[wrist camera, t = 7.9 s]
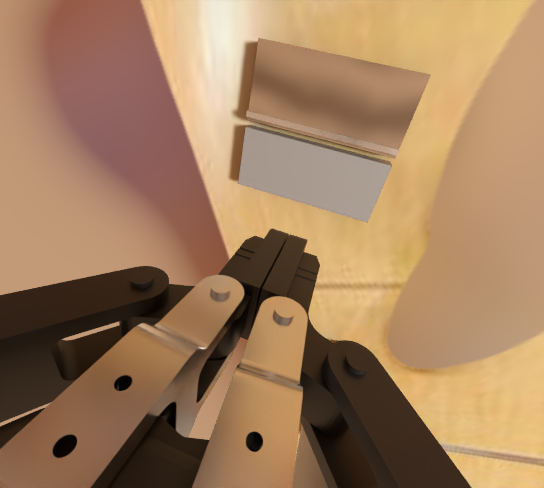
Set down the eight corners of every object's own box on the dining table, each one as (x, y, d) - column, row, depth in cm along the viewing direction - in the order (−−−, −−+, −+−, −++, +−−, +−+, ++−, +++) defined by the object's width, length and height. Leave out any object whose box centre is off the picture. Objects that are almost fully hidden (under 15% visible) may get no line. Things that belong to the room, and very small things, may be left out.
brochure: (386, 397, 48) (414, 730, 23) (358, 402, 51) (355, 705, 25) (343, 341, 45) (319, 653, 20) (315, 349, 48) (263, 634, 22)
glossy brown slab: (264, 41, 29) (256, 37, 27) (426, 76, 27) (431, 74, 25) (252, 118, 33) (245, 119, 31) (393, 155, 31) (395, 159, 29)
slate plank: (251, 125, 33) (245, 126, 32) (390, 161, 31) (391, 166, 29) (243, 179, 37) (238, 183, 35) (367, 216, 35) (367, 222, 33)
